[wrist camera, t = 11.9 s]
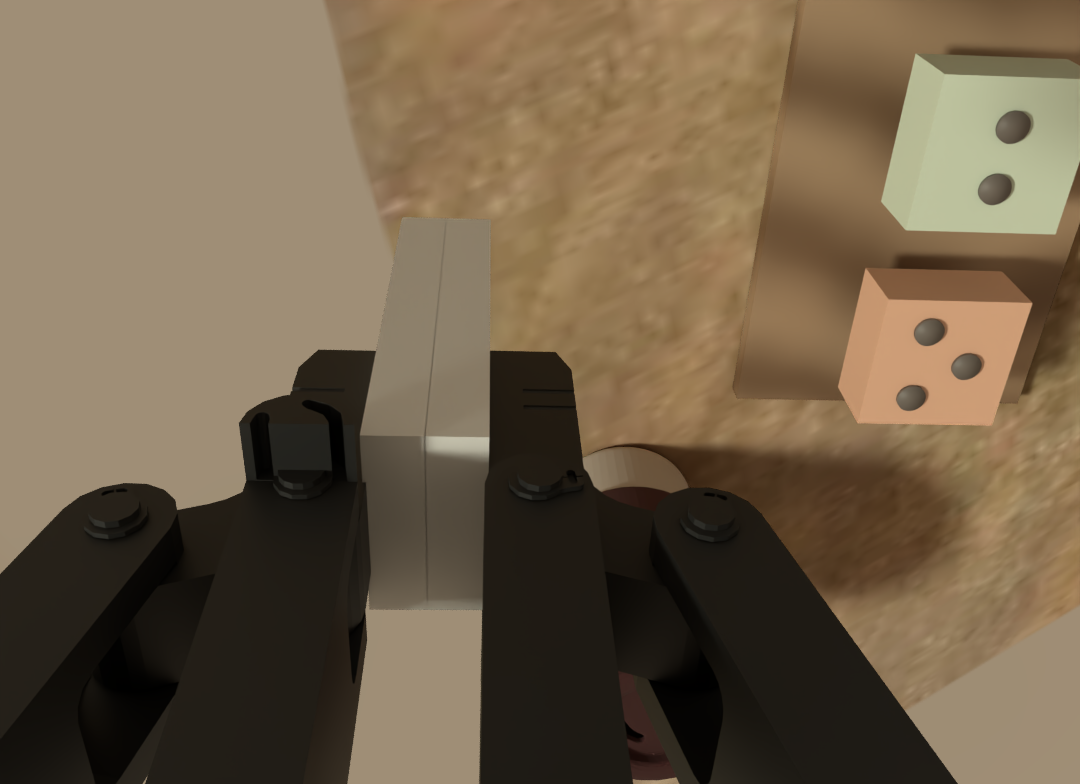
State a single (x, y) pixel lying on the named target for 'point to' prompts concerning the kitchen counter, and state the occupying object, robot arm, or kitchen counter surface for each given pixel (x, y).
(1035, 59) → the tile two
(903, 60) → the key board
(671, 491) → the coffee cup
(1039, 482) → the kitchen counter surface
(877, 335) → the tile three
